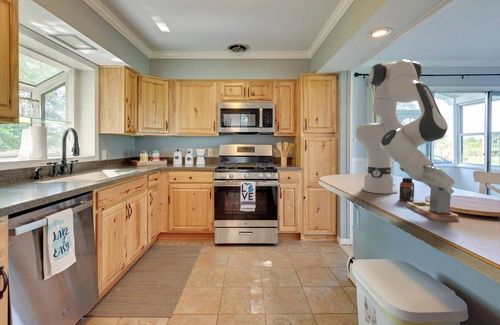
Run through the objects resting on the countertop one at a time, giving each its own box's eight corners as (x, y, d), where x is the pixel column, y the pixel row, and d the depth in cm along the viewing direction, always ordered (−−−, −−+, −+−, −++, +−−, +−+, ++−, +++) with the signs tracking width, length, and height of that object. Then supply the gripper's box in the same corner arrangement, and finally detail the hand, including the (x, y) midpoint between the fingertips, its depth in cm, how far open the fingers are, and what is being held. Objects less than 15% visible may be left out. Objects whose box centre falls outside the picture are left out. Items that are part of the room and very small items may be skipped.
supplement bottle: (416, 202, 118) (417, 179, 117) (402, 202, 119) (403, 179, 118) (410, 199, 124) (411, 177, 123) (397, 199, 125) (398, 177, 124)
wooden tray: (406, 206, 112) (406, 202, 112) (425, 206, 112) (425, 202, 111) (435, 220, 93) (435, 215, 93) (458, 220, 93) (458, 215, 92)
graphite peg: (429, 215, 99) (430, 183, 98) (441, 215, 99) (442, 182, 98) (436, 218, 95) (438, 185, 94) (449, 218, 95) (451, 185, 93)
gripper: (442, 161, 85) (470, 189, 85) (408, 157, 105) (431, 179, 105) (427, 175, 86) (456, 202, 86) (397, 167, 106) (420, 190, 106)
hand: (442, 190), depth 96 cm, fingers open, 8 cm apart
